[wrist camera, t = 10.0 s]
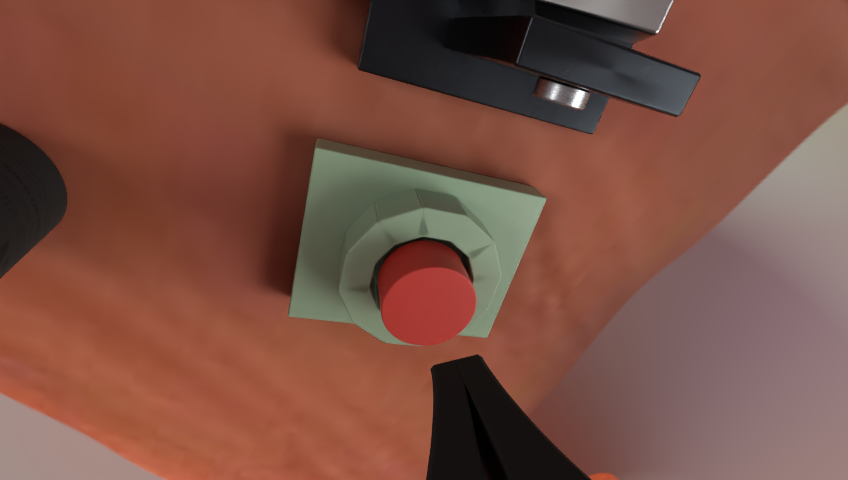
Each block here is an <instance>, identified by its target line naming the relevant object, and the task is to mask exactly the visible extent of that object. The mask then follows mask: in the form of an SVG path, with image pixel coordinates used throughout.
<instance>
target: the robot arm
mask: <svg viewBox="0 0 848 480" xmlns="http://www.w3.org/2000/svg"><path fill="white" fill-rule="evenodd" d="M431 374H432V381H433V423H432V438H431V448H430V455H429V463H428V471H427V478H426V480H591V479H590V478H589V477H588V476H587V475H586V474H585V473H583V472H582V471H581V470H580V469H579V468H578V467H577V466H576V465H575V464H574V463H572V462H571V461H570V460H569V459H568V458H567V457H566V456H565V455H564V454H563V453H562V452H561V451H560V450H559V449H558V448H557V447H556V446H555V445H554V444H553V443H552V442H551V441H550V440H549V439H548V438H547V437H546V436H545V435H544V434H543V433H542V432H541V431H540V430H539V429H538V428H537V426H535V424H534V423H533V422H532V421H531V420H530V419H529V418H528V416H527V415H526V414H525V413H524V412H523V411H522V409H521V408H520V407H519V406H518V405H517V404H516V403H515V401H514V400H513V399H512V398H511V397H510V395H509V394H508V393H507V392H506V390H505V389H504V388H503V387H502V385H501V384H500V383H499V381H498V380H497V379H496V377H495V376H494V375H493V373H492V372H491V370H490V369H489V367H488V366H487V364H486V363H485V361H484V360H483V358H482V357H481V356H479V355H474V356H470V357H465V358H461V359H457V360H453V361H449V362H445V363H441V364H437V365H434V366H433V367H432V368H431Z"/></svg>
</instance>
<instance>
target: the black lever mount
mask: <svg viewBox="0 0 848 480" xmlns="http://www.w3.org/2000/svg"><path fill="white" fill-rule="evenodd" d="M633 44H634V43H633ZM633 44H632V43H628V42H625V41H621V40H618V39H614V38H611V37H607V36H604V35H600V34H597V33H593V32H590V31H586V30H583V29H579V28H576V27H572V26H569V25H565V24H562V23H558V22H555V21H551V20H548V19H545V18H543V17H540V16H537V15H535V4H534V0H369V4H368V10H367V15H366V20H365V25H364V31H363V36H362V41H361V47H360V52H359V57H358V62H357V67H358V69H359V70H361V71H364V72H368V73H371V74H375V75H379V76H382V77H386V78H389V79H393V80H397V81H400V82H404V83H407V84H411V85H415V86H418V87H422V88H426V89H429V90H433V91H436V92H440V93H444V94H447V95H451V96H454V97H458V98H462V99H465V100H469V101H472V102H476V103H480V104H483V105H487V106H490V107H494V108H498V109H501V110H505V111H508V112H512V113H516V114H519V115H523V116H527V117H530V118H534V119H537V120H541V121H545V122H548V123H552V124H555V125H559V126H563V127H566V128H570V129H573V130H577V131H581V132H584V133H588V134H593V133H594V131H595V128H596V126H597V124H598V122H599V119H600V117H601V115H602V113H603V111H604V108H605V106H606V104H607V102H608V99H609V98H612V99H615V100H619V101H622V102H626V103H629V104H633V105H636V106H640V107H643V108H647V109H650V110H653V111H657V112H660V113H664V114H667V115H671V116H674V117H678V116H680V115H681V113H682V111H683V109H684V108H685V106H686V104H687V102H688V100H689V98H690V96H691V94H692V92H693V91H694V89H695V87H696V85H697V83H698V81H699V79H700V77H701V75H700V74H699V73H697V72H694V71H692V70H689V69H686V68H683V67H680V66H678V65H675V64H672V63H669V62H666V61H664V60H661V59H658V58H655V57H652V56H649V55H647V54H644V53H641V52H638V51H635V50H633V49H631V48H632V46H633Z"/></svg>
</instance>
